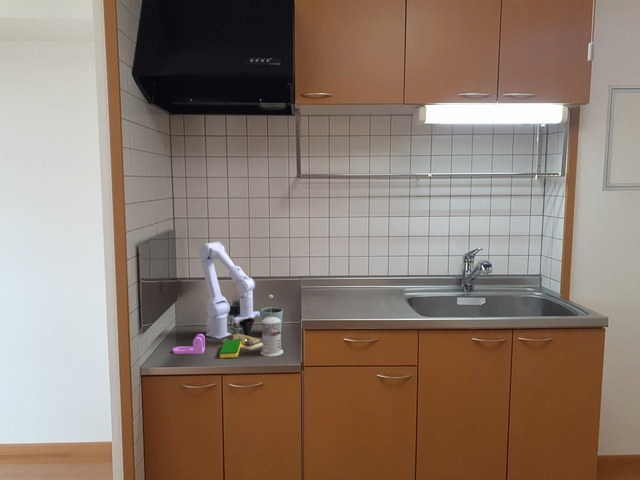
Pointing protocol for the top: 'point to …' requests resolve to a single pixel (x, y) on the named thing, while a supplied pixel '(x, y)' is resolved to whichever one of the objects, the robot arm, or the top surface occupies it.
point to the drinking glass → (272, 313)
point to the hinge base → (246, 343)
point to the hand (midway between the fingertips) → (247, 334)
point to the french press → (271, 337)
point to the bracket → (195, 349)
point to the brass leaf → (245, 338)
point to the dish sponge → (230, 348)
